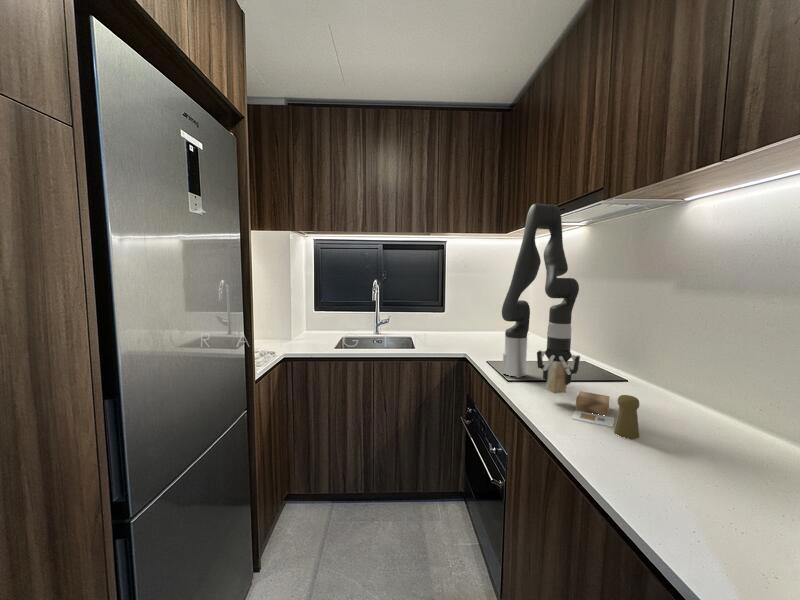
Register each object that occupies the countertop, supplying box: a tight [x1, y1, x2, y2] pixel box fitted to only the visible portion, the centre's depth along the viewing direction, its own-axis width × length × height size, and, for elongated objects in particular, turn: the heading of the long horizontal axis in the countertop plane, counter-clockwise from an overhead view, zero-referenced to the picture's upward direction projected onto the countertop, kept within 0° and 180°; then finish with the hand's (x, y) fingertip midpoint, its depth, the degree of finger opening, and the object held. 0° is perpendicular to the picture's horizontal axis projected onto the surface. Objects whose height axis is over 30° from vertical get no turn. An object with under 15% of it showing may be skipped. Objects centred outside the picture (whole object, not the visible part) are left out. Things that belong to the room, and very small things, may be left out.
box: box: [546, 360, 569, 394], centre depth 126 cm, size 5×4×11 cm
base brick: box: [575, 390, 610, 416], centre depth 120 cm, size 9×9×4 cm
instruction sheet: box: [571, 409, 615, 428], centre depth 112 cm, size 11×8×1 cm
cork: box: [613, 394, 641, 440], centre depth 101 cm, size 6×6×11 cm
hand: (556, 382), depth 126 cm, fingers closed on box, 6 cm apart
